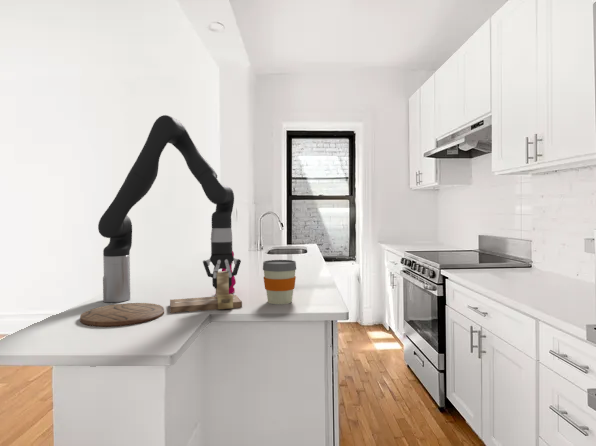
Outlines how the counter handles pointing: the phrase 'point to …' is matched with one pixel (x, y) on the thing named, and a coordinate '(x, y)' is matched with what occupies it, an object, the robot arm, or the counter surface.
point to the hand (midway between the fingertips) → (222, 287)
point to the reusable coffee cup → (279, 280)
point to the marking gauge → (223, 291)
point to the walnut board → (199, 304)
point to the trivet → (121, 314)
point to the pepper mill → (231, 289)
